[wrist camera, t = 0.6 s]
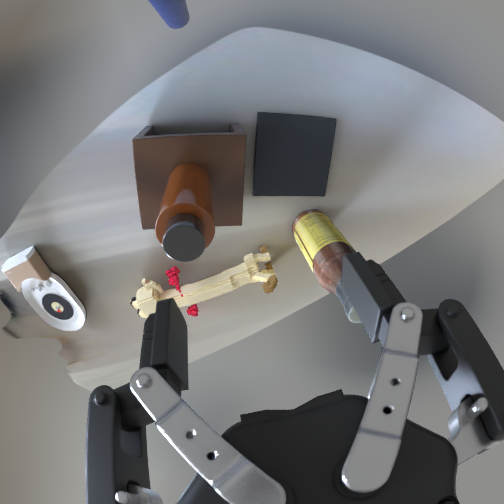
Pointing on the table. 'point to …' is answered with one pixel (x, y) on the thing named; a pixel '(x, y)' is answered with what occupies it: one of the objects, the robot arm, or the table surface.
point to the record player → (45, 290)
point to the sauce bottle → (325, 253)
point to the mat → (292, 154)
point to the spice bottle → (186, 213)
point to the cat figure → (205, 285)
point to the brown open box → (191, 152)
